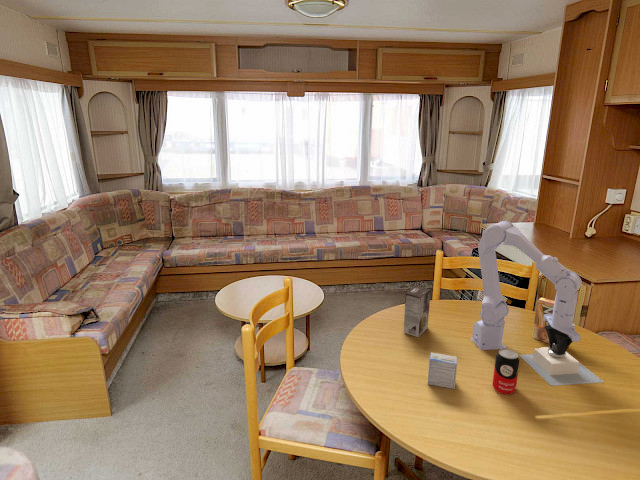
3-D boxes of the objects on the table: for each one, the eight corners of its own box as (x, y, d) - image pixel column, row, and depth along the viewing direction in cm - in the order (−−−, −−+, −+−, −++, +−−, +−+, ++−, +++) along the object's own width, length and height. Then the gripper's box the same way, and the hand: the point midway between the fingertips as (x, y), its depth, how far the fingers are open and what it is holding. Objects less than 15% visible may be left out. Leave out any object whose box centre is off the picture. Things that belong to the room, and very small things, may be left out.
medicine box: (455, 381, 126) (457, 356, 123) (454, 390, 122) (457, 364, 119) (428, 376, 128) (430, 351, 126) (427, 384, 124) (429, 359, 122)
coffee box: (412, 323, 162) (415, 285, 158) (428, 328, 158) (431, 288, 154) (402, 332, 155) (404, 292, 151) (418, 337, 151) (421, 296, 147)
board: (550, 387, 123) (551, 385, 122) (518, 356, 139) (518, 355, 139) (603, 383, 124) (604, 382, 124) (565, 353, 141) (566, 352, 140)
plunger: (552, 370, 130) (555, 348, 128) (542, 361, 134) (545, 340, 132) (566, 369, 130) (570, 347, 128) (556, 360, 135) (560, 339, 133)
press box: (549, 375, 128) (551, 363, 126) (529, 356, 138) (531, 346, 137) (577, 373, 128) (579, 362, 127) (555, 355, 139) (556, 344, 138)
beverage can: (487, 386, 123) (491, 350, 120) (503, 381, 126) (507, 345, 122) (503, 398, 118) (509, 361, 114) (520, 393, 120) (525, 356, 117)
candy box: (561, 343, 147) (568, 304, 143) (557, 348, 144) (564, 307, 140) (535, 335, 153) (541, 296, 149) (531, 339, 150) (537, 300, 146)
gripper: (593, 321, 121) (585, 362, 124) (560, 301, 134) (554, 338, 138) (570, 322, 120) (563, 364, 124) (539, 302, 134) (534, 339, 137)
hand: (556, 350), depth 131 cm, fingers closed on plunger, 3 cm apart
